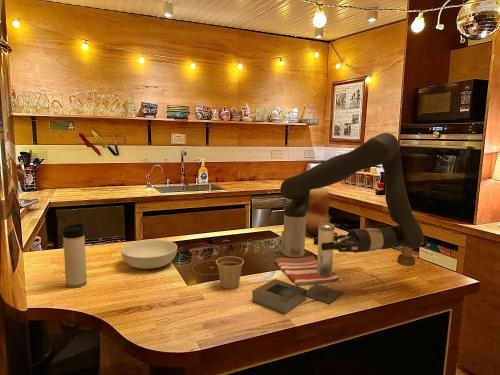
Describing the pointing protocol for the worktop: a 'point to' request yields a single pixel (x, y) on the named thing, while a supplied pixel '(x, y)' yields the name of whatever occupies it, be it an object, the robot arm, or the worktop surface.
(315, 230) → the butternut squash
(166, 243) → the serving bowl
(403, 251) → the pepper mill
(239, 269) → the flower pot
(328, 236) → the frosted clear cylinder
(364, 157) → the robot arm
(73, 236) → the travel mug
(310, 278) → the dish towel
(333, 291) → the rubber mat
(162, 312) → the worktop surface
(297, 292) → the bore block
